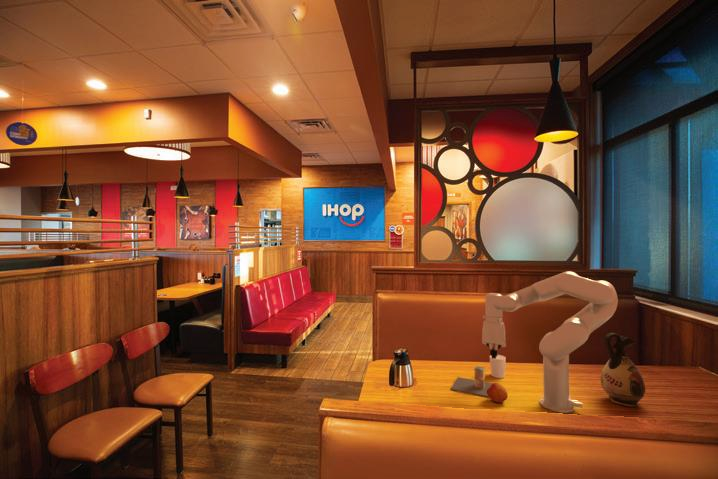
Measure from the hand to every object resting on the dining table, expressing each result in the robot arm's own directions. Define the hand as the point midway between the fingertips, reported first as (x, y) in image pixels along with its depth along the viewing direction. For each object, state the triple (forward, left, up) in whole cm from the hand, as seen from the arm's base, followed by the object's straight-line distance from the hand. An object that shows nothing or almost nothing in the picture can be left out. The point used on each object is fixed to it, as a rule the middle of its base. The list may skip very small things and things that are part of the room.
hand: (493, 357), depth 159 cm
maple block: (+7, 0, -15) cm, 16 cm away
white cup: (+1, -20, -16) cm, 26 cm away
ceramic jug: (-50, -14, -16) cm, 55 cm away
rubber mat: (+10, +1, -16) cm, 18 cm away
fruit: (-3, +11, -16) cm, 20 cm away
